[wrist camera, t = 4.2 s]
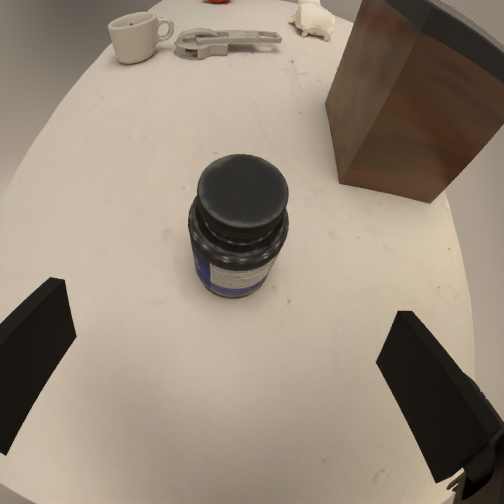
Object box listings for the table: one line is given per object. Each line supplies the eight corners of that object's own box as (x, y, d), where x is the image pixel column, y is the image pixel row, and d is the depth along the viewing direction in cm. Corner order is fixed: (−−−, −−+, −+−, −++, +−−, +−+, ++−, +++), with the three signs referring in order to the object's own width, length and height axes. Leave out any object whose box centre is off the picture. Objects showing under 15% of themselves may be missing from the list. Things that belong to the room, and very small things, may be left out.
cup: (170, 41, 40) (168, 5, 33) (179, 56, 38) (178, 16, 30) (113, 55, 37) (107, 20, 30) (115, 73, 35) (108, 32, 28)
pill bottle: (200, 230, 25) (193, 139, 15) (268, 235, 26) (299, 150, 16) (192, 297, 23) (173, 235, 13) (267, 303, 23) (305, 246, 13)
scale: (522, 100, 13) (538, 78, 10) (420, 31, 12) (436, -2, 9) (456, 31, 19) (465, 13, 16) (366, -13, 18) (373, -34, 15)
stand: (430, 203, 30) (522, 100, 13) (339, 183, 29) (420, 31, 12) (401, 124, 37) (456, 31, 19) (325, 102, 36) (366, -13, 18)
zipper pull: (283, 58, 40) (287, 38, 36) (174, 62, 37) (174, 40, 33) (271, 41, 43) (274, 23, 39) (174, 44, 40) (173, 25, 36)
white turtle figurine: (328, 50, 50) (318, 12, 51) (342, 27, 42) (329, -9, 42) (291, 44, 49) (285, 7, 50) (301, 19, 41) (293, -16, 41)
